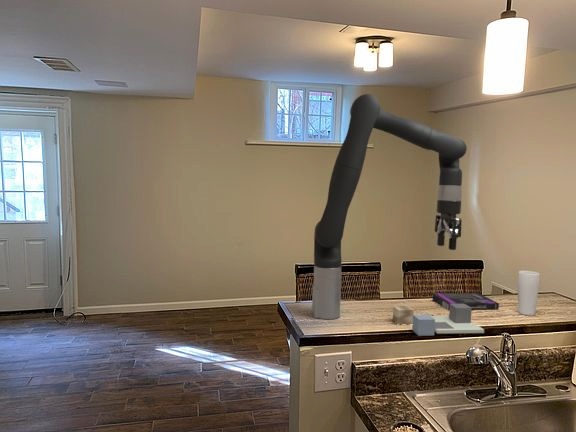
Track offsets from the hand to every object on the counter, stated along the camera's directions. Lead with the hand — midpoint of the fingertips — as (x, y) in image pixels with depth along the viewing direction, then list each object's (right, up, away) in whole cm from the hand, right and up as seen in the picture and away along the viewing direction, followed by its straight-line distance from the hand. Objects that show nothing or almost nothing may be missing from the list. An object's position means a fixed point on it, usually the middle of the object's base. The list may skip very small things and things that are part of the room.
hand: (446, 247), depth 149 cm
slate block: (-11, -25, -12) cm, 30 cm away
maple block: (-15, -25, -2) cm, 29 cm away
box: (+14, -24, +20) cm, 34 cm away
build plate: (0, -25, -5) cm, 25 cm away
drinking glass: (+32, -25, +10) cm, 41 cm away
